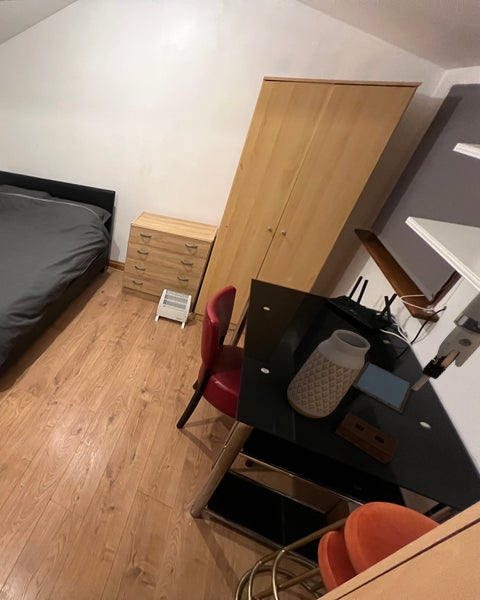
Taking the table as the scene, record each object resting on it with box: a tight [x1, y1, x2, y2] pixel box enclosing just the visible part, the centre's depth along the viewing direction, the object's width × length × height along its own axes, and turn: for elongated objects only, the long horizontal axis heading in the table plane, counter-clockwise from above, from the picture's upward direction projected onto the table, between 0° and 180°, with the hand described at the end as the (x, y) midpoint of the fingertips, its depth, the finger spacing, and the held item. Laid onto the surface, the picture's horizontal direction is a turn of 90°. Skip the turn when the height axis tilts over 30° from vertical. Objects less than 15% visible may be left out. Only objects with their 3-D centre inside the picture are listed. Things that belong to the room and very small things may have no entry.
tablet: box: [351, 361, 414, 414], centre depth 123 cm, size 22×15×1 cm
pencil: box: [410, 360, 443, 393], centre depth 94 cm, size 1×1×13 cm
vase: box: [286, 329, 371, 419], centre depth 103 cm, size 14×14×31 cm
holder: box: [334, 411, 400, 465], centre depth 101 cm, size 13×8×4 cm, turn 40°
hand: (429, 373), depth 93 cm, fingers closed on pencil, 1 cm apart
